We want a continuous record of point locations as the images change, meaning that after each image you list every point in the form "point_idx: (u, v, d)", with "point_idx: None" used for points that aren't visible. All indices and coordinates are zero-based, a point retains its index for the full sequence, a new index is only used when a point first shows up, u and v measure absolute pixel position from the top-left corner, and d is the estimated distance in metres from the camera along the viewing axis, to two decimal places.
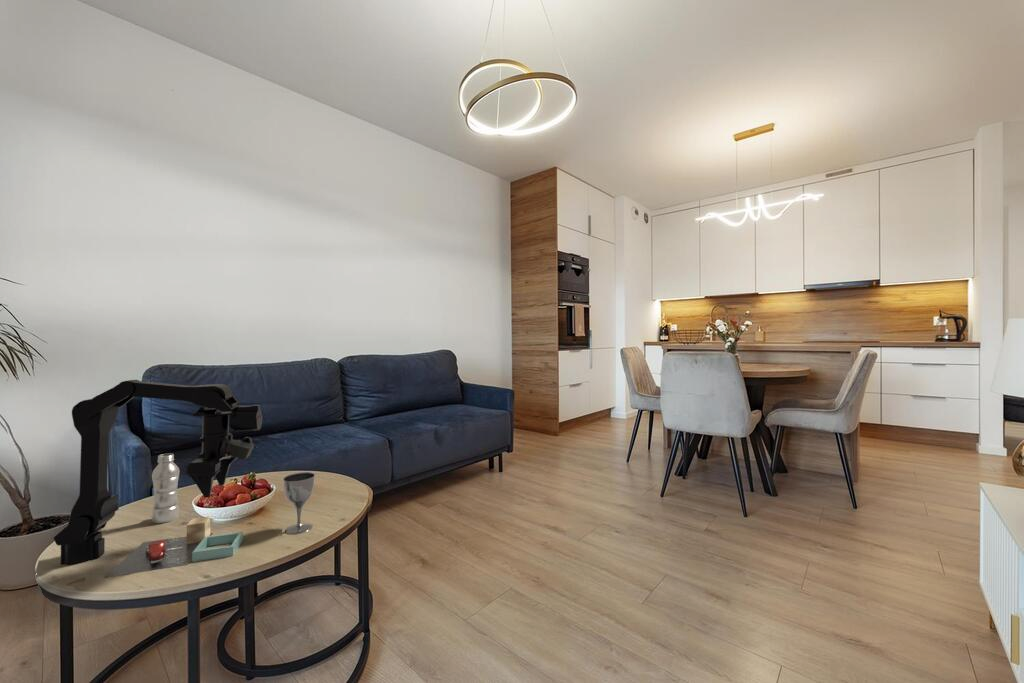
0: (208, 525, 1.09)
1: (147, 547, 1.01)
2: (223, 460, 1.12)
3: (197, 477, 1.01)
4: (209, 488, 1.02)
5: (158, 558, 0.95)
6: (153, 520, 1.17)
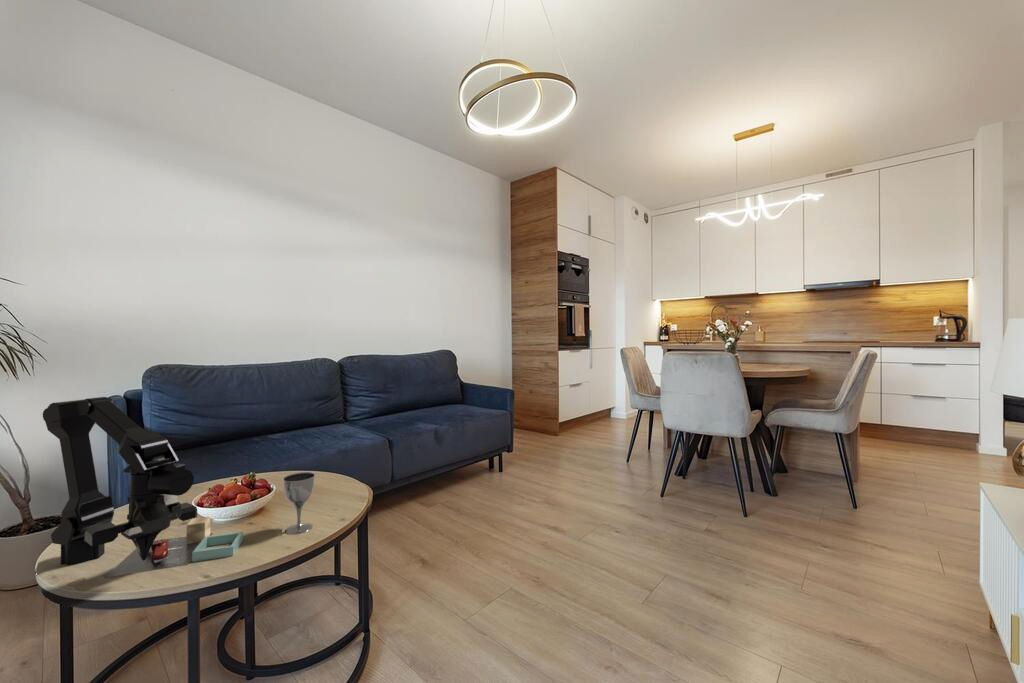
0: (208, 525, 1.09)
1: None
2: None
3: None
4: (140, 551, 0.93)
5: (161, 557, 0.96)
6: None
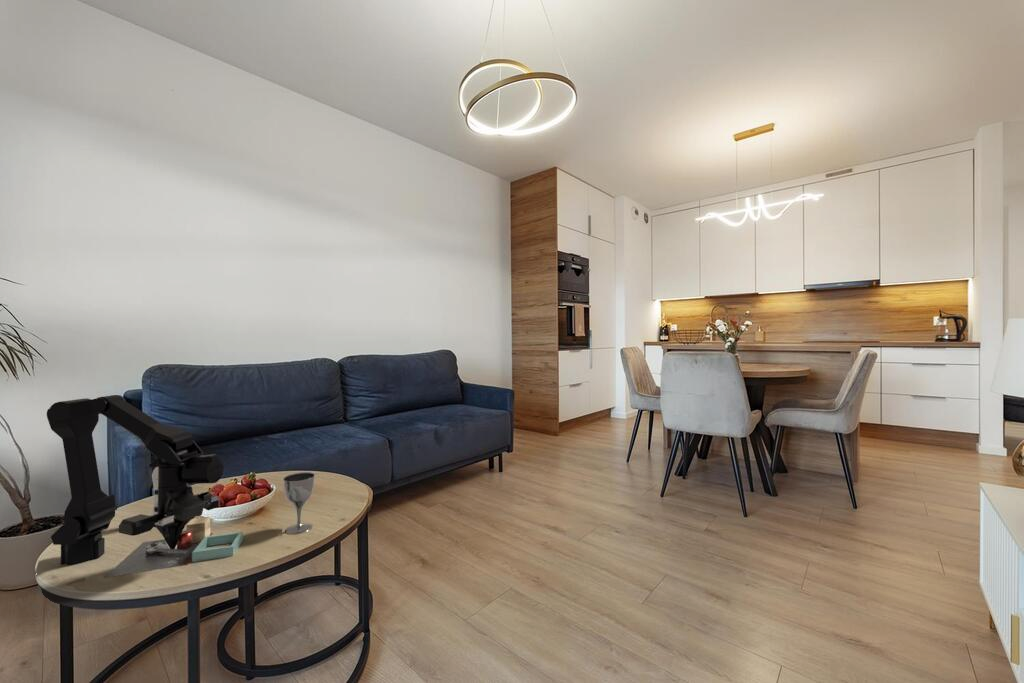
0: (208, 525, 1.09)
1: (149, 548, 1.00)
2: (175, 520, 0.99)
3: None
4: (170, 540, 0.97)
5: (190, 545, 1.01)
6: None
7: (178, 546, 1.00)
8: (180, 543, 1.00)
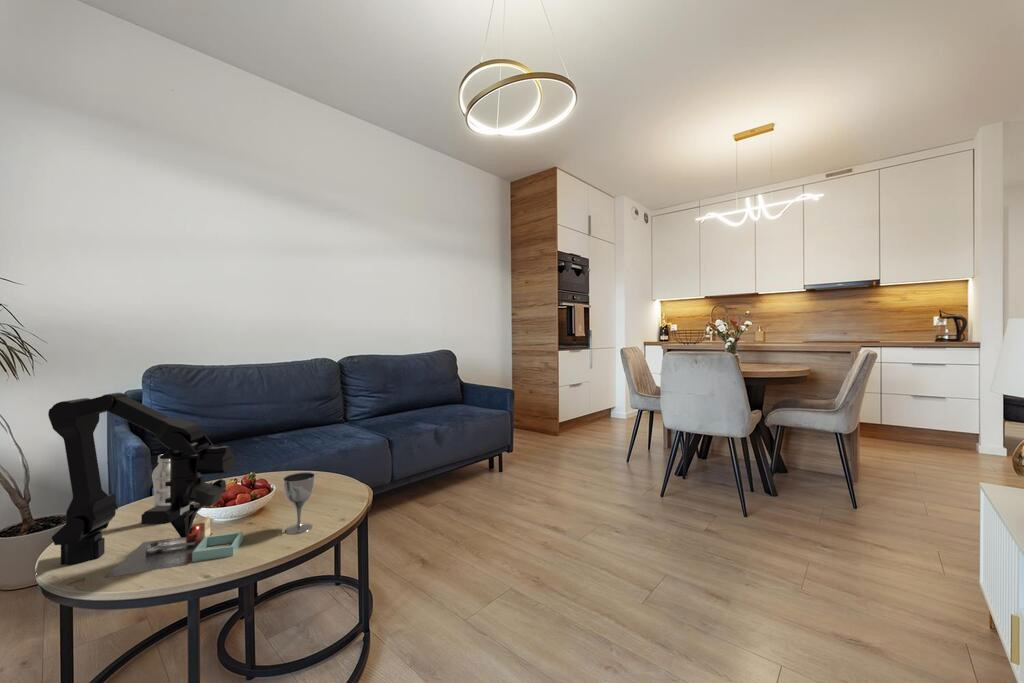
0: (208, 525, 1.09)
1: (152, 547, 1.01)
2: None
3: None
4: (184, 529, 1.01)
5: (200, 537, 1.06)
6: None
7: (189, 539, 1.03)
8: (192, 536, 1.04)
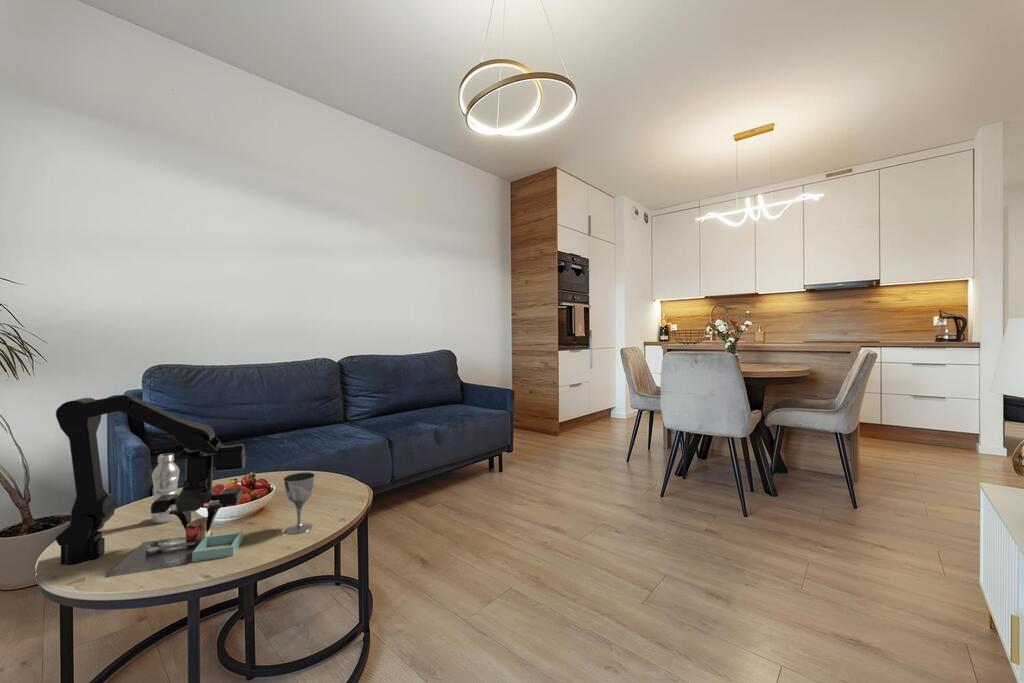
0: None
1: (152, 547, 1.01)
2: None
3: None
4: None
5: (200, 537, 1.06)
6: (153, 520, 1.17)
7: (189, 539, 1.03)
8: (192, 536, 1.04)
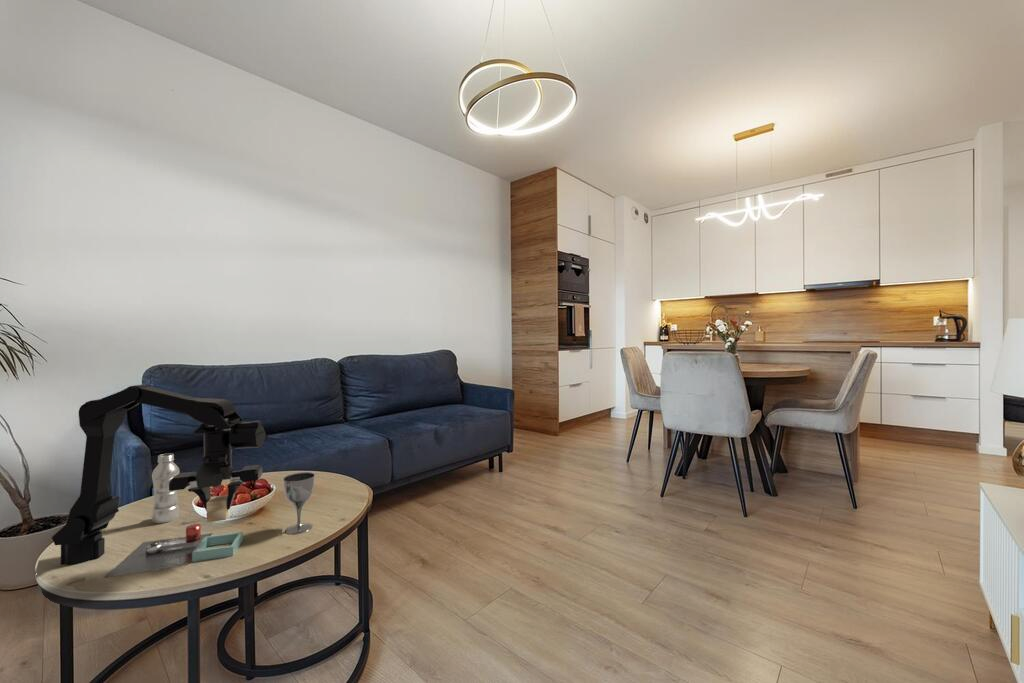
0: None
1: (152, 547, 1.01)
2: None
3: None
4: None
5: (200, 537, 1.06)
6: (153, 520, 1.17)
7: (189, 539, 1.03)
8: (192, 536, 1.04)
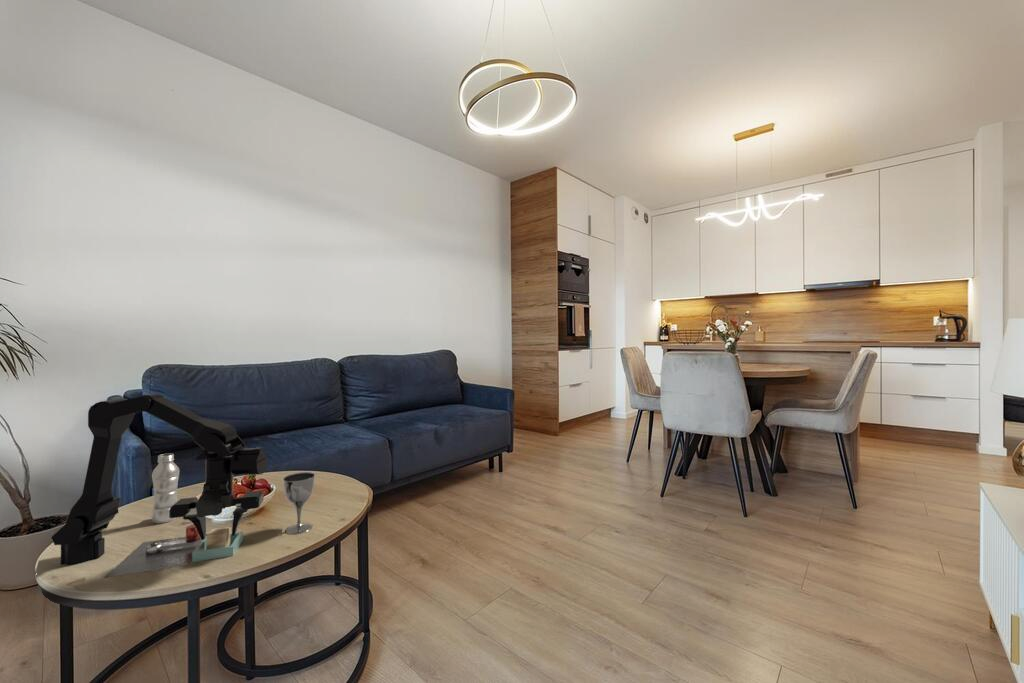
0: (228, 536, 1.04)
1: (152, 547, 1.01)
2: None
3: None
4: None
5: (200, 537, 1.06)
6: (153, 520, 1.17)
7: (189, 539, 1.03)
8: (192, 536, 1.04)
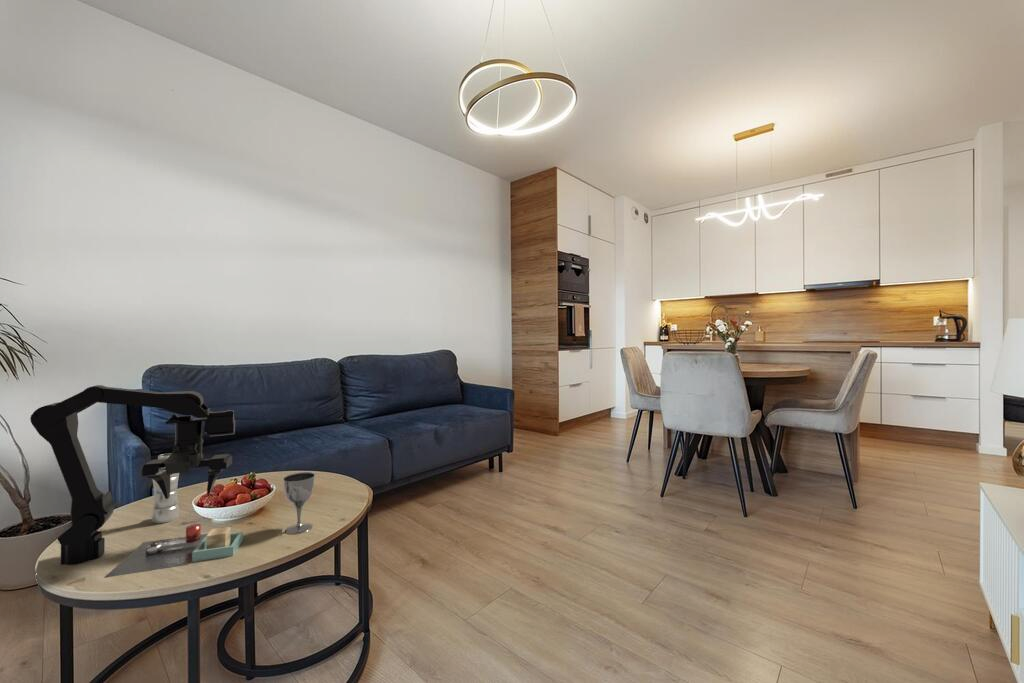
0: (228, 536, 1.04)
1: (152, 547, 1.01)
2: None
3: None
4: None
5: (200, 537, 1.06)
6: (153, 520, 1.17)
7: (189, 539, 1.03)
8: (192, 536, 1.04)
